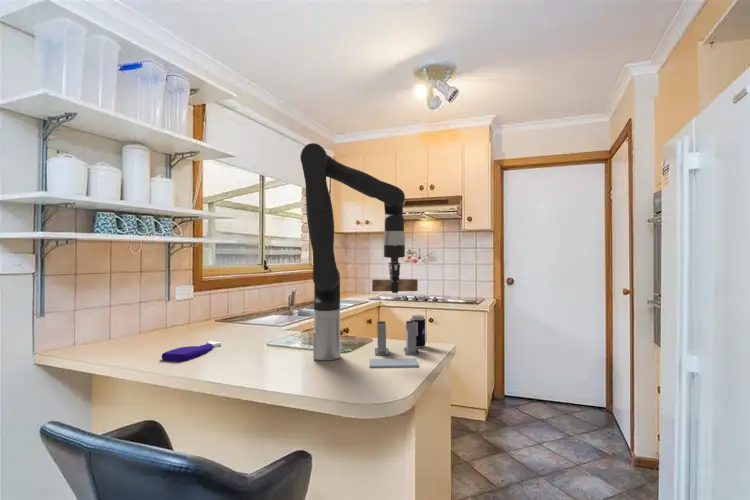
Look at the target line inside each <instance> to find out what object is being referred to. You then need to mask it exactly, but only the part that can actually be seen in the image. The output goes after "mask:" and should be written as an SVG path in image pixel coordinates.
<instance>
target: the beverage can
mask: <svg viewBox="0 0 750 500" xmlns="http://www.w3.org/2000/svg"><path fill="white" fill-rule="evenodd" d="M410 321H414V324H416V347H417V349H420V348H421V349H422V348H424V347H425V345H426V318H425V315H423V314H413V315H411V318H410Z"/></svg>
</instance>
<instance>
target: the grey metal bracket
mask: <svg viewBox="0 0 750 500" xmlns="http://www.w3.org/2000/svg"><path fill="white" fill-rule="evenodd" d="M376 324H377V325H376V327H377V328H376V329H377V330H376V331H377V332H376V334H377V335H376V336H377V341H376V342H377V345H376V346H377V347H375V348H374V355H375V356H390V352H389V348H388V347H387V326H386V325H387V324H386V321H385V320H377V321H376Z"/></svg>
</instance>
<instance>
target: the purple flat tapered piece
mask: <svg viewBox="0 0 750 500" xmlns="http://www.w3.org/2000/svg"><path fill="white" fill-rule="evenodd" d="M216 347H222V342H219V341H206V343H204V344H200V345H193V346H192V345H190V346H182V347H181V346H180V347H177V348H174V349H171V350H166V351H165V352H163V353H162V354H161V360H162V361H164V360H165V361H164V362H174V361H175V362H176V363H178V362H179V363H182V362H186V361H190V360H193V359H196V358H198V357H201V356H203V355H205V354H207V353H208V352H209V351H211V350H212V349H214V348H216Z"/></svg>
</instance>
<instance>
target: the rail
mask: <svg viewBox="0 0 750 500" xmlns="http://www.w3.org/2000/svg"><path fill="white" fill-rule="evenodd" d="M391 280H392V279H390V278H371V291H372V292H392V281H391ZM418 281H419V280H418V278H399V282H398V292H418V287H419V286H418Z"/></svg>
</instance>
